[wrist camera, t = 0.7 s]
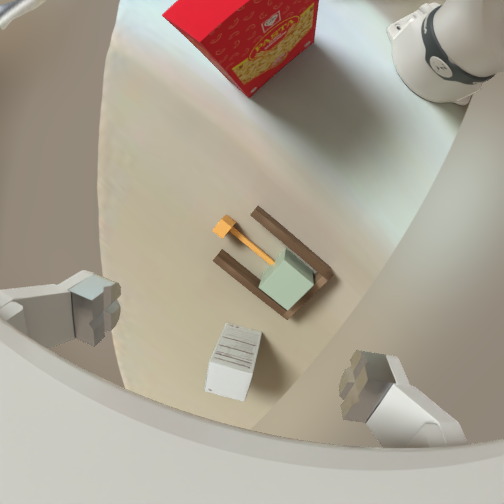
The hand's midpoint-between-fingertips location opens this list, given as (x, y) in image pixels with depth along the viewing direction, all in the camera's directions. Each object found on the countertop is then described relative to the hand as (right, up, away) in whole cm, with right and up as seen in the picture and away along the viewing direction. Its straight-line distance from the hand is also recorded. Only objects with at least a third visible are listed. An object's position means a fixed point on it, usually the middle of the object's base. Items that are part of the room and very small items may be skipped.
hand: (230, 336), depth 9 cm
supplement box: (-1, -15, +47) cm, 49 cm away
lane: (+4, +1, +41) cm, 41 cm away
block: (+3, +3, +41) cm, 41 cm away
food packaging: (+4, +34, +31) cm, 46 cm away
